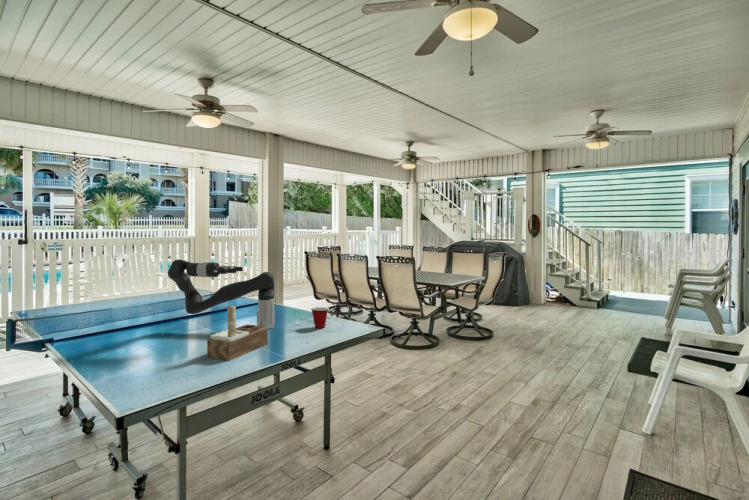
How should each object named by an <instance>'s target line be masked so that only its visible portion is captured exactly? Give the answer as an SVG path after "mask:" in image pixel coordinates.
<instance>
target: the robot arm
mask: <svg viewBox="0 0 749 500" xmlns="http://www.w3.org/2000/svg"><path fill="white" fill-rule="evenodd" d="M185 271H186V272H185ZM243 271H244V270H243V266H237V265H233V266H232V265H221V266H220V264H219V263H218V262H191V261H187V260H183V259H175V260H172V262H171V265H170V266H169V269H168V271H167V276H168V279H170V280H172V281H173V282H174V283H175V284H176V286H177V288H178V289H179V291H181V292H182V293H184V298H185V299H184V303H185V304H184V305H185V311H186V313H187V314H189V315H196V314H199V313H200V314H201V313H202V312H204V311H207V310H208V309H210V308H213V307H216V306H218V305H220V304H224V303H227V302H229V301H233V300H236V299H239V298H241V297H243V296H246V295H248V294H250V293H253V292H256V291H257V310H258V311H256V325H257V326H260V328H265V329H273V328H275V276H274V275H273V273H272V272H270V271H263V272H262V273H260V274H259V275H257V276H255V277H252V278H251V279H246V280H242V281H236V282H233V283H232V282H231V283H230V284H226V285H223V286H221V287H220V288H219V289H217V291H215V292H214V293H213V294H212V295H211V296H210V297H208V298H207V299H204V300H203V297H202V294H201V293H200V292H199V291H198V290H197V289H196V287H195V286H194V285H193V282H192V281H191V278H190V277H202V278H218V277H219V275H226V274H227V275H228V274H236V273H237V272H243Z"/></svg>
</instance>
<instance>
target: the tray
mask: <svg viewBox="0 0 749 500" xmlns="http://www.w3.org/2000/svg"><path fill="white" fill-rule="evenodd" d="M246 336H249V332H247V331H240V330H236V336H233V337H228V329H226V330H223V331H220V332H216V333H214V334H211V335H210V339H213V340H220V341H227V342H232V341H235V340H238V339H240V338H243V337H246Z"/></svg>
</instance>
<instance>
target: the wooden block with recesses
mask: <svg viewBox="0 0 749 500" xmlns="http://www.w3.org/2000/svg"><path fill="white" fill-rule="evenodd" d="M236 330H240V331H247V332H249V336H246V337H243V338H240V339H238V340H235V341H232V342H227V341H220V340H213V339H211V338H209V339H208V338H207V340H206V341H207V342H206V344H207V346H206V347H207V348H206V349H207V351H206V353H207V357H208V358H212V359H218V360H223V361H232V360H235V359H237V358H239V357H242V356H243V355H246V354H249V353H250V352H254V351H255V350H258V349H260V348H262V347H265V346H267V345H268V343H269V341H268V339H269V336H268V331H269V330H268V329H265V328H260V326H257V324H248V323H247V324H244V325H241V326H237V327H236Z"/></svg>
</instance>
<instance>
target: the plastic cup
mask: <svg viewBox="0 0 749 500" xmlns="http://www.w3.org/2000/svg"><path fill="white" fill-rule="evenodd" d="M310 310H311V313H312V317H313V324H314V328H315V329H317V330H321V329H325V328H326V322H327V317H328V312H329V310H330V308H328V307H321V306H320V307H318V306H316V307H315V306H314V307H310Z"/></svg>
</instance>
